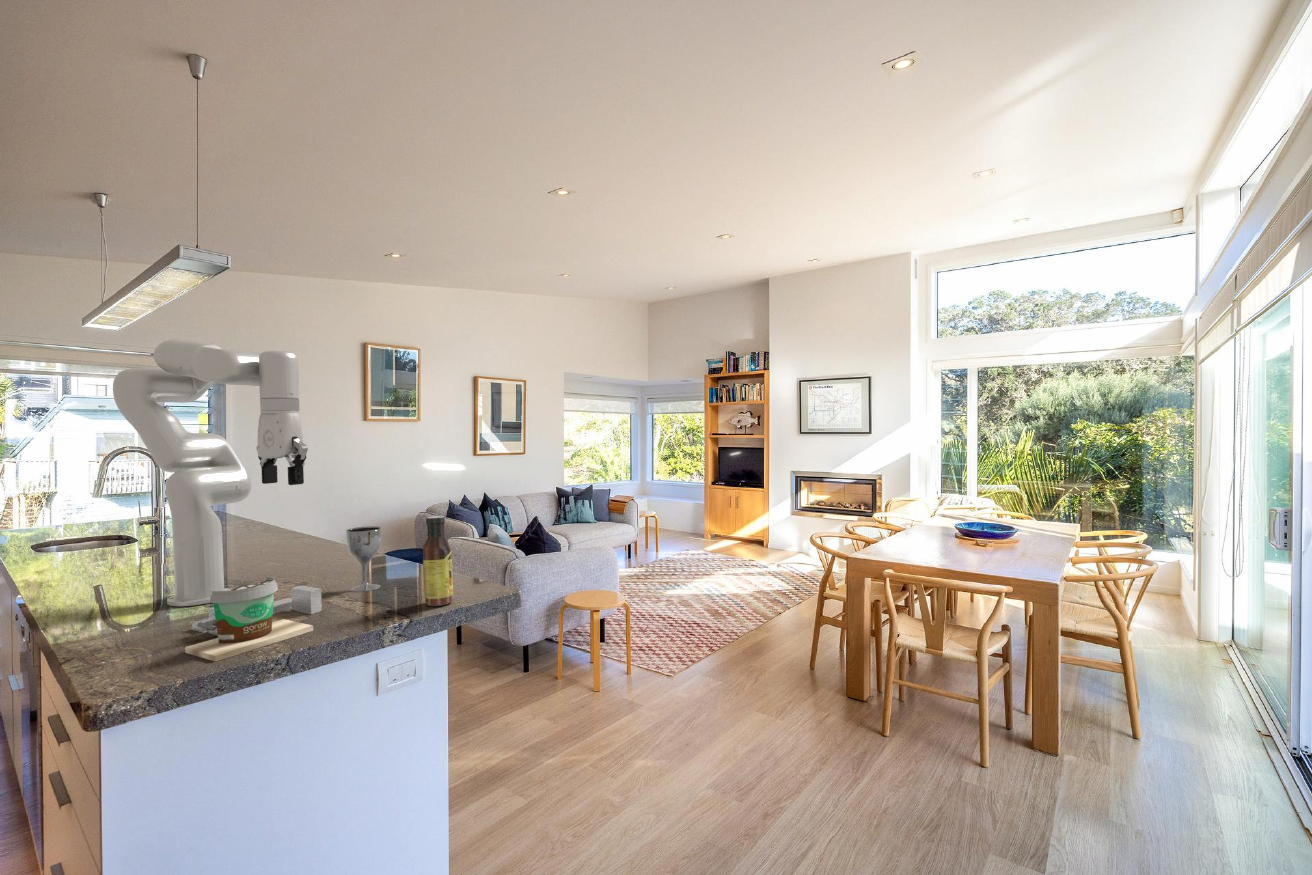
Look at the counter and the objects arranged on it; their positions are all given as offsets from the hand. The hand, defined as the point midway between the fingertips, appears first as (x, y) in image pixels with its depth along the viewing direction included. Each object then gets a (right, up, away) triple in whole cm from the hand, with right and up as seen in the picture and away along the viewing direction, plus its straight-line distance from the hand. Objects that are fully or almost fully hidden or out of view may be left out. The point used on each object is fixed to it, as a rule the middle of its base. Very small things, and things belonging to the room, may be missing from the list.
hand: (282, 483), depth 140 cm
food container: (+7, -28, -20) cm, 35 cm away
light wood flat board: (+6, -29, -20) cm, 35 cm away
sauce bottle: (+34, -28, +3) cm, 44 cm away
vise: (-1, -29, -7) cm, 30 cm away
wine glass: (+10, -28, +18) cm, 35 cm away
